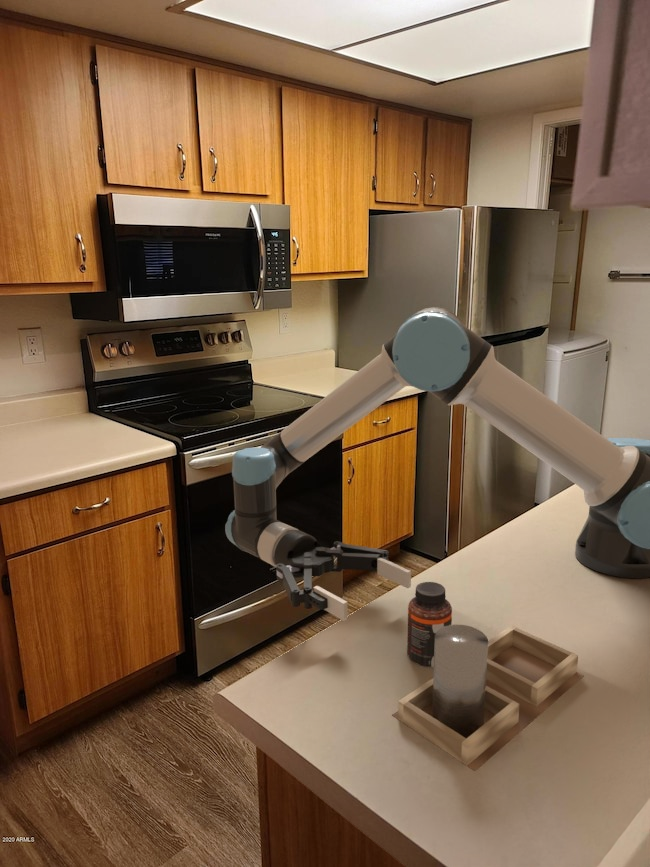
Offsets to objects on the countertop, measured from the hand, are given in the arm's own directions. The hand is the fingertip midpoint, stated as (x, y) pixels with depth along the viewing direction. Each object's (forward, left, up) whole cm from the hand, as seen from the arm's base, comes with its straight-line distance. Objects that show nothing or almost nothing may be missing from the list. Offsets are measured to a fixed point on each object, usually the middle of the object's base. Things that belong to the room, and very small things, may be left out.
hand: (379, 594), depth 94 cm
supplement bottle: (0, +10, -7) cm, 12 cm away
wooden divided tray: (+1, +20, -6) cm, 22 cm away
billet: (+8, +20, -5) cm, 23 cm away
